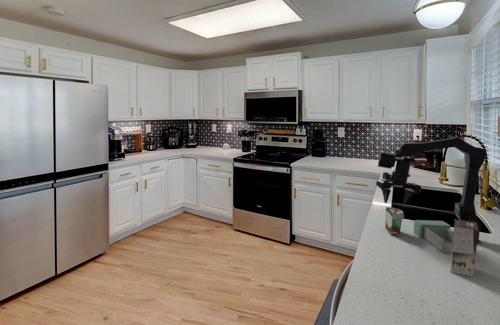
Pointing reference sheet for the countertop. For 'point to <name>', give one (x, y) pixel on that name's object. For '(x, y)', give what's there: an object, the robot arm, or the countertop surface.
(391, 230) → the food container
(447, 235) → the green block on stand
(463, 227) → the coffee box
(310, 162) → the countertop surface
